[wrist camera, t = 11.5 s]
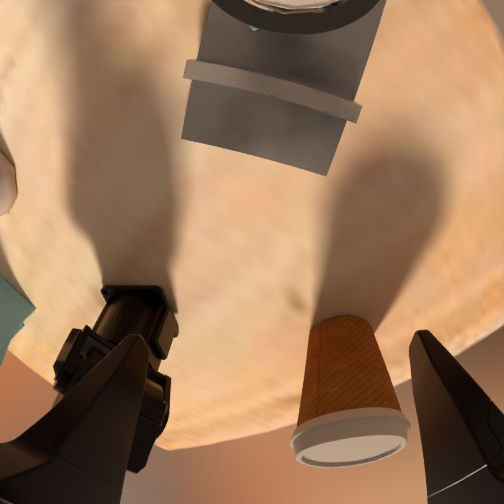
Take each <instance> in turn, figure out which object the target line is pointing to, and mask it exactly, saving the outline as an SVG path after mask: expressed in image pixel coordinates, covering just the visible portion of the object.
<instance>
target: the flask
mask: <svg viewBox="0 0 504 504" xmlns="http://www.w3.org/2000/svg"><path fill="white" fill-rule="evenodd" d="M16 198H17V191H16V181H15V170H14V167H13V166H12V165H11V164H10V162H9V161H8V160H7V159H6V157H5V156H4V155H3V153H2V152H1V151H0V216H2V215H5V214H8V213H9V212H10V210H11V208H12V206H13V204H14V202H15V200H16Z"/></svg>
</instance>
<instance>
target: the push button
mask: <svg viewBox="0 0 504 504" xmlns="http://www.w3.org/2000/svg"><path fill="white" fill-rule="evenodd" d="M212 1H213V2H214V3H215V4H216V5H217V6H218V7H219V8H221V9H222V10H223V11H224V12H226V13H227V14H229V15H230V16H232V17H233V18H235V19H237V20H239V21H240V22H242V23H245V24H247V25H249V27H250V28H251V29H252V30H253V31H257V30H264V31H268V32H273V33H278V34H286V35H313V34H320V33H325V32H329V31H333V30H336V29H339V28H342V27H344V26H347V25H349V24H351V23H353V22H355V21H357V20H358V19H360V18H361V17H363V16H364V15H366V14H367V13H368V12H369V11H370V10H371V9H373V8H374V6H375V5H376V4H377V3H378V2H379V0H348V1H347V2H346V3H344V4H342V5H341V6H339V7H336V8H334V9H332V10H328V11H325V12H321V13H316V12H317V10H319V9H320V8H321V7H324V6H328V5H330V4H332V3H334V2H336V1H338V0H212ZM315 13H316V14H315Z"/></svg>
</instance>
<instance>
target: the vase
mask: <svg viewBox="0 0 504 504" xmlns="http://www.w3.org/2000/svg"><path fill="white" fill-rule="evenodd" d="M35 309H36V308H35V307H34V306H33V305H32V304H30V303H29V302H28V301H27V300H26V299H25V298H24V297H23V296H22V295H21V294H20V293H19V292H18V291H17V290H16V289H15V288H14V287H13V286H12V285H11V284H10V283H9V282H8V281H7V280H6V279H5V278H4V277H3V276H1V275H0V366H1V364H2V362H3V359H4V356H5V353H6V351H7V348H8V345H9V343H10V341H11V339H12V338H13V337H14V336H15V335H16V334H17V333H18V332H19V331H20V330H21V329H22V328H23V327H24V324H23V322H24V321H25V320H26V319H27V318H28V317H29V316H30V315H31V314H32V313H33V312H34V311H35Z"/></svg>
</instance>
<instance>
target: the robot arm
mask: <svg viewBox="0 0 504 504" xmlns="http://www.w3.org/2000/svg"><path fill="white" fill-rule="evenodd" d="M157 292H158V293H157ZM101 293H102V295H103V297H104V299H105V301H106V305H105V307H104V308H103V310H102V312H101V314H100V316H99V318H98V319H97V321H96V323H95V325H94V327H93V329H92V330H91V328H90V327H89V326H88V325H85V326H84V328H83V329H82V330H81V329H75V328H73V329H72V330H71V332H70V334H69V336H68V337H67V339H66V341H65V343H64V345H63V347H62V349H61V351H60V353H59V355H58V357H57V359H56V361H55V363H54V365H53V368H54V372H55V378H54V380H55V382H54V385H53V389H54V390H56V391H57V392H59V393H58V395H57V397H56V399H55V401H54V403H53V406H52V409H51V410H50V411H49V412H48V413H47V414H46V415H44V416H43V417H42V418H41V419H40V420H39V421H37V422H36V423H35V424H34V425H32V426H31V427H30V428H29V429H28V430H26V431H25V432H24V433H23V434H21V435H20V436H19V437H17V438H16V439H14V440H12V441H10V442H7V443H0V504H120V499H121V494H122V487H123V482H124V478H125V472H126V471H129V472H131V473H134V474H136V473H138V472H139V471H140V470H141V469H143V468H144V467H145V466H146V463H147V460H148V456H149V454H150V451H151V449H152V446H153V444H154V442H155V440H156V439H157V438H158V437H159V436H160V435H161V433H162V432H163V430H164V428H165V426H166V424H167V421H168V417H169V408H170V389H171V377H169V376H167V375H163V374H161V373H160V372H158V369H159V366H160V363H161V360H165V359H166V358H167V356H168V353H169V350H170V347H171V344H172V341H173V337H174V338H175V337H177V336H178V333H179V331H178V329H177V324H176V321H175V319H174V316H173V314H172V311H171V309H170V308H169V306H168V304H167V301H166V299H165V296H164V293H163V291H162V289H161V288H160V287H157V286H103V287H102V289H101ZM409 358H410V366H411V376H412V387H413V395H414V401H415V406H416V412H417V417H418V423H419V429H420V435H421V442H422V450H423V457H424V465H425V474H426V485H427V496H428V498H427V500H428V504H504V414H503V413H502V412H501V411H500V410H499V409H498V407H497V406H496V405H495V404H494V403H493V401H491V399H490V398H489V397H488V396H487V394H486V393H485V392H484V391H483V390H482V389H481V387H480V386H479V385H478V384H477V383H476V382H475V380H474V379H473V378H472V377H471V376H470V375H469V374H468V372H466V370H465V369H464V368H463V367H462V366H461V365H460V364H459V362H458V361H457V360H456V359H455V358H454V357H453V356H452V355H451V354H450V353H449V351H448V350H447V349H446V348H445V347H444V346H443V345H442V344H441V343H440V342H439V341H438V340H437V339H436V338H435V337H434V335H433V334H432V333H431V332H430V331H428V330H418V331H416V332H415V334H414V336H413V339H412V341H411V344H410V346H409Z"/></svg>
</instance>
